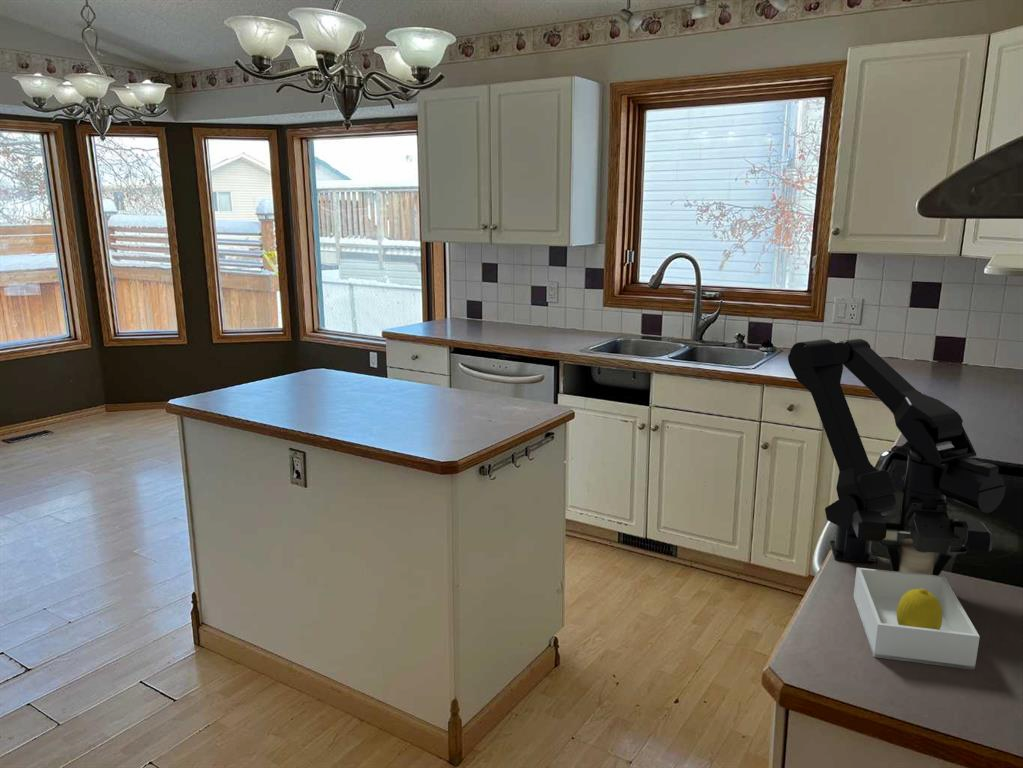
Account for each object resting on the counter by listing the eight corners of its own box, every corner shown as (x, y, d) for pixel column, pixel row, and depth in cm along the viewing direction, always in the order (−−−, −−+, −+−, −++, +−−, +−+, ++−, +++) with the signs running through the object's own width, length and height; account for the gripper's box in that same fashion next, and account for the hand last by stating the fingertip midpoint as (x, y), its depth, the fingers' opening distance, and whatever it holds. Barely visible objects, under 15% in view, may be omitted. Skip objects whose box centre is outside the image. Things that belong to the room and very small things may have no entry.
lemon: (943, 654, 101) (952, 601, 99) (899, 649, 102) (906, 597, 100) (931, 631, 106) (938, 581, 104) (889, 626, 107) (895, 577, 105)
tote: (853, 596, 116) (856, 567, 115) (940, 605, 113) (944, 576, 112) (873, 656, 102) (877, 624, 100) (974, 669, 98) (979, 636, 97)
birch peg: (895, 575, 122) (900, 536, 121) (930, 582, 120) (935, 542, 118) (894, 589, 118) (899, 548, 116) (930, 596, 116) (936, 555, 114)
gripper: (869, 503, 110) (859, 598, 114) (1013, 514, 105) (997, 613, 109) (856, 475, 120) (847, 563, 124) (986, 485, 115) (972, 576, 119)
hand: (913, 579), depth 119 cm, fingers closed on birch peg, 5 cm apart
